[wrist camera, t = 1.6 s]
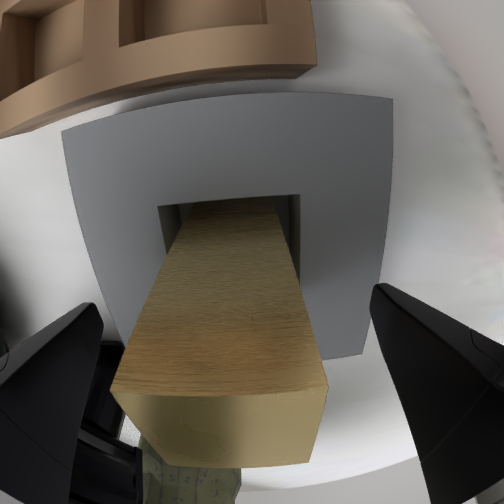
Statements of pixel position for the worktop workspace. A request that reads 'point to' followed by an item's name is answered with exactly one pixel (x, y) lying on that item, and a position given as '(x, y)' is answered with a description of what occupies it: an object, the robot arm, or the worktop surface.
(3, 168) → the worktop surface
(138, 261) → the socket block
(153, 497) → the olive carved statue
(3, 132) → the walnut rack
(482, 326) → the worktop surface
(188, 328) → the block
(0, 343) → the squash
